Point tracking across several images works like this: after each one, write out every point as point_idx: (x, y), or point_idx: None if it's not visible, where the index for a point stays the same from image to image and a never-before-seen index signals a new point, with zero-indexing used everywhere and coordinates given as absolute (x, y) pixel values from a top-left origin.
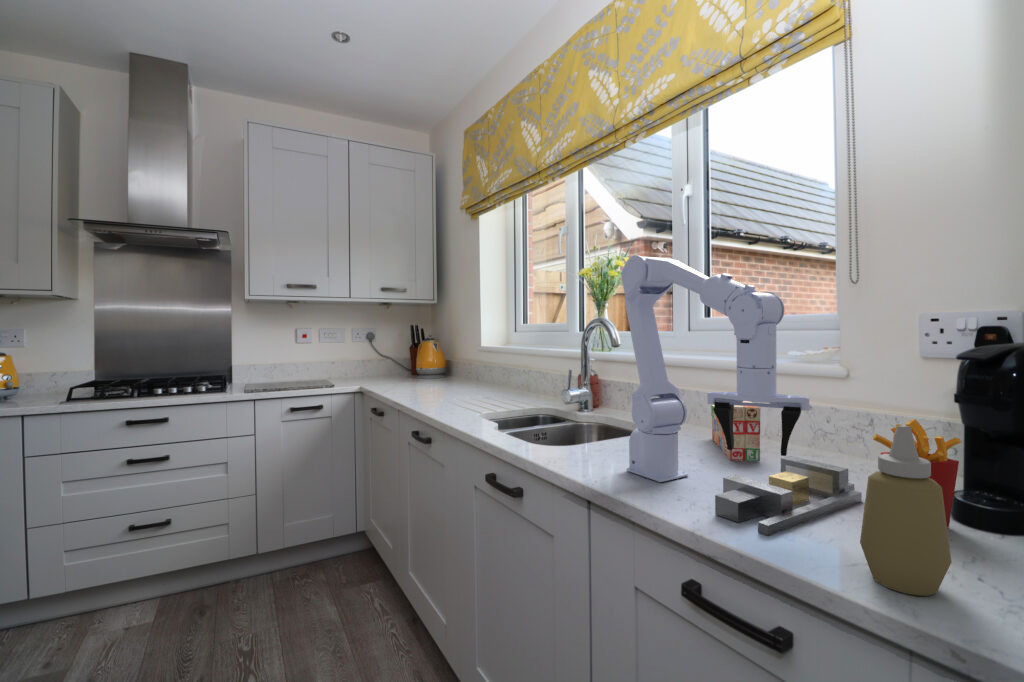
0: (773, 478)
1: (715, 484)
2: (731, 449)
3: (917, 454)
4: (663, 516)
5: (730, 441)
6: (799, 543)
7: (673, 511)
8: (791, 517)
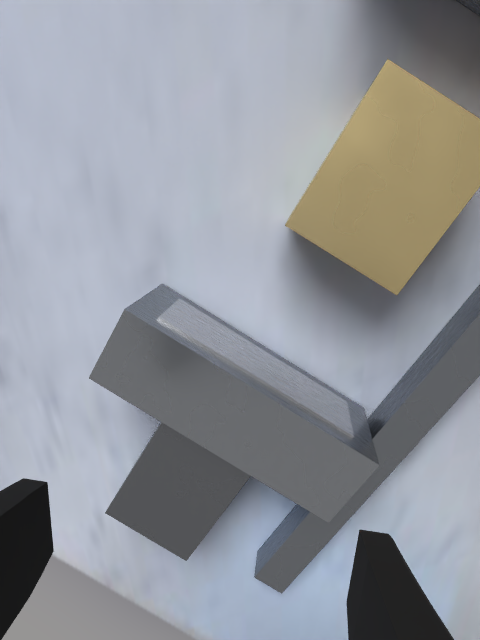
0: (308, 239)
1: (59, 110)
2: (49, 554)
3: None
4: None
5: (9, 615)
6: None
7: None
8: (353, 513)
